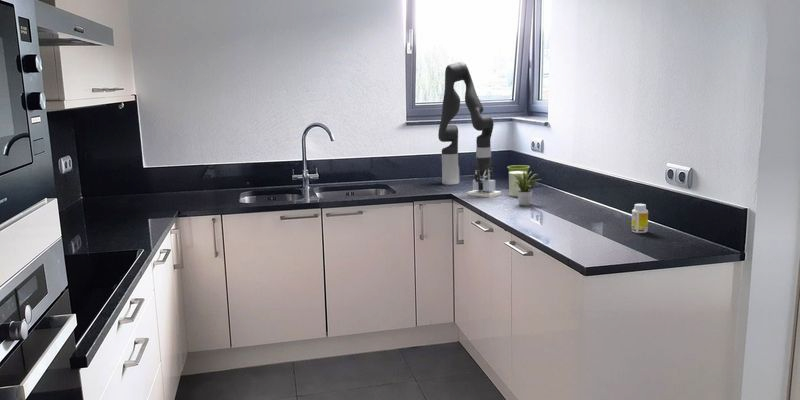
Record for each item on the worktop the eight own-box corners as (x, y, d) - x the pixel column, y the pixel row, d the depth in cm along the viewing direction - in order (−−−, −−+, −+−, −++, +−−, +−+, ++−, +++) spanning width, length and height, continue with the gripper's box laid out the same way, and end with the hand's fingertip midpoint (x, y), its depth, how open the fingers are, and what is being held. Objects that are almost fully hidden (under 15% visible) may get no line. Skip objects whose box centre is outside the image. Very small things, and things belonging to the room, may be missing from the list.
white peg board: (478, 192, 330) (478, 183, 329) (501, 194, 321) (501, 185, 320) (467, 194, 323) (467, 186, 322) (490, 197, 314) (489, 188, 313)
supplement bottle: (650, 231, 233) (650, 204, 232) (643, 234, 229) (644, 206, 228) (635, 229, 237) (635, 202, 235) (628, 232, 233) (629, 205, 231)
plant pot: (502, 187, 341) (502, 167, 339) (516, 184, 348) (516, 164, 346) (520, 189, 332) (520, 168, 330) (534, 186, 340) (534, 166, 338)
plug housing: (479, 188, 327) (478, 178, 326) (495, 190, 320) (495, 180, 319) (472, 189, 323) (472, 180, 322) (489, 191, 316) (489, 181, 315)
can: (530, 195, 315) (530, 171, 313) (515, 197, 312) (514, 173, 310) (520, 192, 324) (520, 169, 321) (505, 194, 320) (505, 171, 318)
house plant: (523, 209, 282) (523, 172, 279) (501, 204, 294) (501, 170, 291) (545, 204, 290) (545, 169, 287) (524, 200, 301) (524, 166, 298)
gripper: (485, 154, 326) (485, 186, 329) (469, 157, 316) (469, 190, 319) (497, 154, 321) (498, 187, 324) (481, 158, 311) (482, 191, 314)
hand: (484, 189), depth 321 cm, fingers closed on plug housing, 5 cm apart
